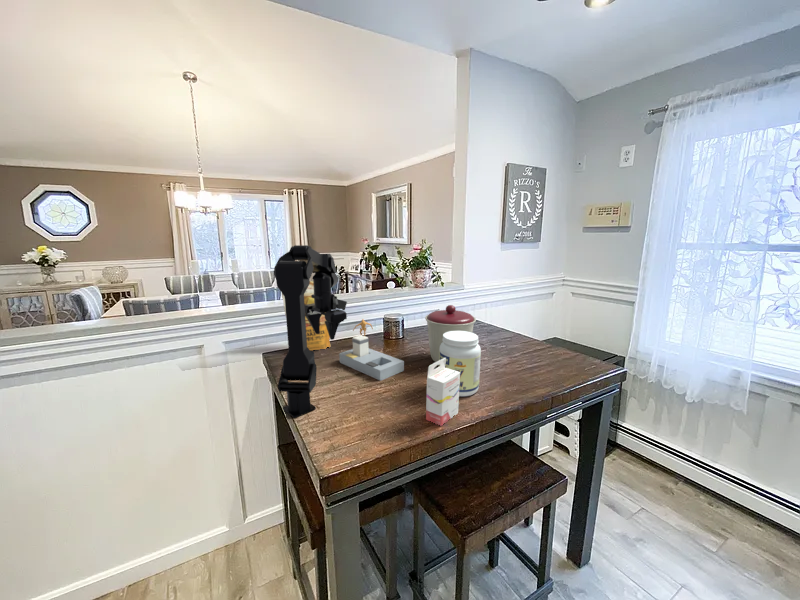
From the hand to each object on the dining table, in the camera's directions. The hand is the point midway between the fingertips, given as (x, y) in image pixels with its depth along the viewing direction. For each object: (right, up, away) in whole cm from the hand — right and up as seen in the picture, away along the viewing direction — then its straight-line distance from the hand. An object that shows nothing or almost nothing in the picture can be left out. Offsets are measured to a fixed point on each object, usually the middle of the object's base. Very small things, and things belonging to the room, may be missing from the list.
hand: (324, 336), depth 113 cm
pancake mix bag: (-11, -8, +22) cm, 26 cm away
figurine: (+10, -7, +25) cm, 28 cm away
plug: (+11, -10, +8) cm, 17 cm away
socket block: (+15, -11, +4) cm, 20 cm away
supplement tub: (+44, -15, -12) cm, 48 cm away
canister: (+44, -10, +9) cm, 46 cm away
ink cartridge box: (+37, -18, -27) cm, 49 cm away
